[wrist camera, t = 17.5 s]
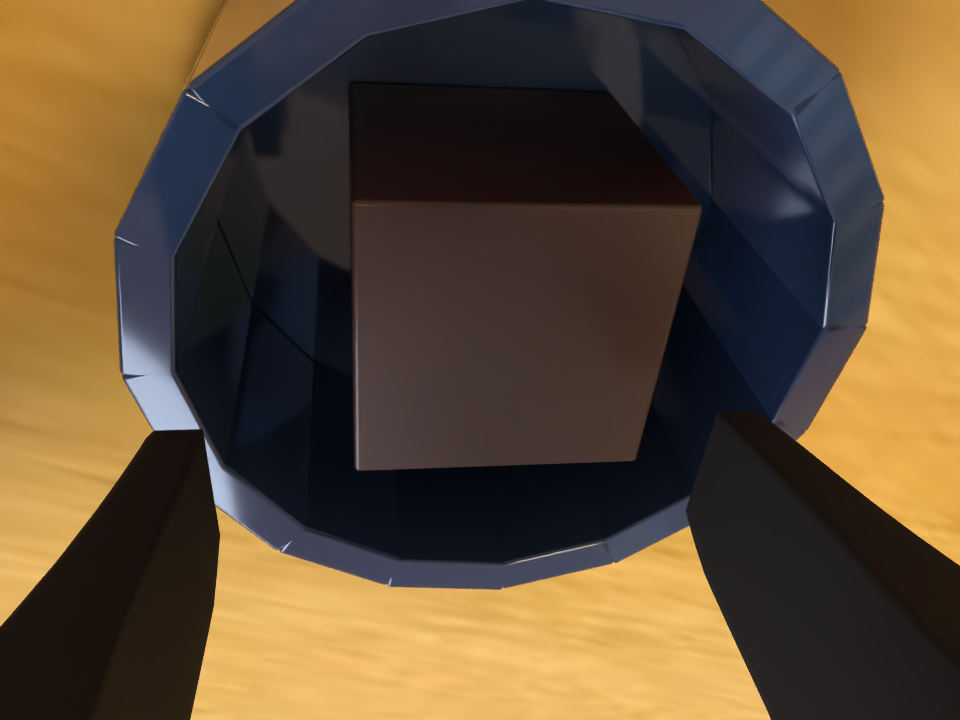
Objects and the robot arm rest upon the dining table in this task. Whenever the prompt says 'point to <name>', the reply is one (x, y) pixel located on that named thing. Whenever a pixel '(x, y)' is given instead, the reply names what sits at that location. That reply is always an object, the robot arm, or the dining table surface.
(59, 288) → the dining table surface
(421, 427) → the walnut block
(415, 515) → the grey open cylinder
